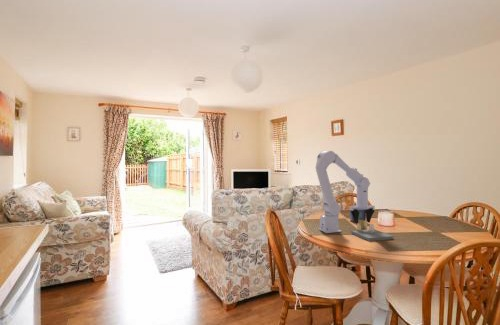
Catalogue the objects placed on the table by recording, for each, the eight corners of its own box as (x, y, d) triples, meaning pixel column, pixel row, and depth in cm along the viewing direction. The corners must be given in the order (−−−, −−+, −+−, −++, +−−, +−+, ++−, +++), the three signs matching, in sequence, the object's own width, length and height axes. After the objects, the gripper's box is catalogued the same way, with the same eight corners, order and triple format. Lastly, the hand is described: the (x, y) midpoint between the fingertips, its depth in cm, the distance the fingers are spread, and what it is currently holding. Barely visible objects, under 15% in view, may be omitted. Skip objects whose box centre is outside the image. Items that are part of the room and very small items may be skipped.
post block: (368, 241, 134) (368, 228, 134) (351, 233, 148) (351, 222, 148) (393, 239, 138) (393, 227, 138) (374, 232, 151) (374, 220, 151)
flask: (349, 221, 177) (349, 204, 177) (350, 220, 180) (350, 204, 180) (365, 223, 173) (365, 205, 173) (365, 222, 176) (365, 205, 176)
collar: (361, 231, 153) (361, 222, 153) (355, 228, 158) (355, 220, 158) (369, 230, 155) (369, 221, 155) (363, 228, 160) (363, 219, 160)
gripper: (355, 199, 151) (355, 225, 151) (378, 198, 154) (378, 223, 154) (347, 198, 158) (347, 222, 158) (369, 197, 161) (369, 220, 161)
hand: (362, 222), depth 157 cm, fingers open, 7 cm apart
